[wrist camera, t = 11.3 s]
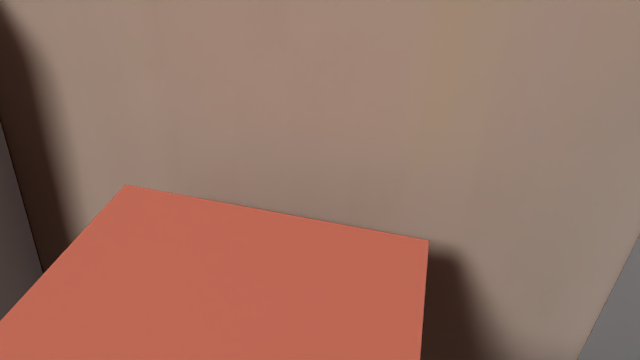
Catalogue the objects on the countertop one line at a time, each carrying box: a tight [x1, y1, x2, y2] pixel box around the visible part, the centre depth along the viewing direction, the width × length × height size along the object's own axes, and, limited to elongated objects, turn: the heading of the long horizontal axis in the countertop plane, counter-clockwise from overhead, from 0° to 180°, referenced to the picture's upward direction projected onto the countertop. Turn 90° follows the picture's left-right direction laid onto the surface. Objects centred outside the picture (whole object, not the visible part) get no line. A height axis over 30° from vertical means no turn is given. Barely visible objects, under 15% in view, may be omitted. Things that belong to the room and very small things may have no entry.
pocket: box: [0, 122, 640, 360], centre depth 10 cm, size 14×12×2 cm
